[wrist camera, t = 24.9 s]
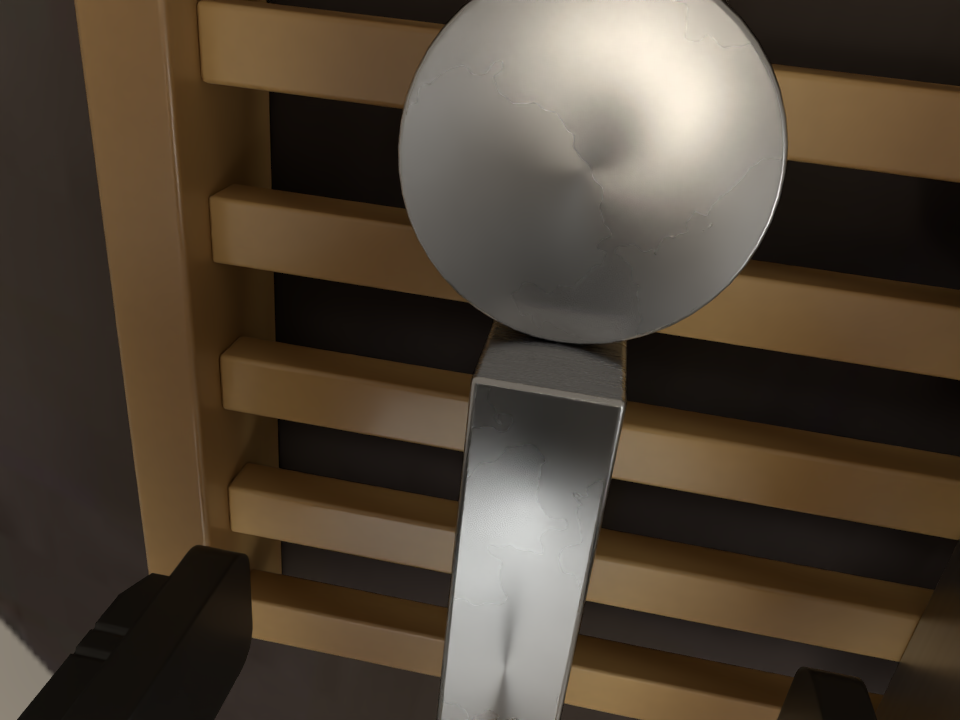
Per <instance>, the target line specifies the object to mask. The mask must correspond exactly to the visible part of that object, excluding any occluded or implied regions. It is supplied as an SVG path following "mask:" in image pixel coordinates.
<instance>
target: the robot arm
mask: <svg viewBox="0 0 960 720" xmlns="http://www.w3.org/2000/svg"><path fill="white" fill-rule="evenodd" d="M252 631H253V621H252V601H251V581H250V563H249V558H248V556H247V555H246V554H244V553H239V552H234V551H229V550H224V549H219V548H214V547H209V546H204V545H195V546H193V547H192V548H191V549H190V550H189V551H188V552H187V553H186V555H185V556H184V557H183V559H182V560H181V561H180V563H179V564H178V565H177V567H176V568H175V569H174V571H173V572H172V573H171V575H170V576H166V575H161V574H156V573H151V574H149V575H148V576H146V577H145V578H143V579H142V580H140V581H139V582H137V583H136V584H134V585H133V586H131V587H130V588H128V589H127V590H125V591H124V592H122V593H121V594H119V595H118V596H117V598H116V599H115V600H114V601H113V603H112V604H111V605H110V606H109V607H108V609H107V610H106V611H105V612H104V614H103V615H102V616H101V617H100V619H99V620H98V621H97V622H96V623H95V628H94V629H93V630H92V629H91V630H90V631H89V632H88V633H87V634H86V636H85V637H84V638H83V639H82V641H81V642H80V643H79V644H78V646H77V647H76V651H75V653H74V654H70V655H69V657H68V658H67V659H66V660H65V661H64V663H63V664H62V665H61V666H60V668H59V669H58V670H57V671H56V672H55V674H54V675H53V676H52V677H51V679H50V680H49V681H48V682H47V684H46V685H45V686H44V687H43V688H42V690H41V691H40V692H39V693H38V695H37V696H36V697H35V698H34V700H33V701H32V702H31V703H30V704H29V706H28V707H27V708H26V709H25V711H24V712H23V713H22V714H21V715H20V717H19V718H18V719H17V720H214V719H215V717H216V715H217V713H218V712H219V710H220V708H221V706H222V704H223V703H224V701H225V699H226V697H227V695H228V694H229V692H230V690H231V688H232V686H233V684H234V683H235V681H236V679H237V677H238V675H239V674H240V672H241V670H242V668H243V665H244V663H245V661H246V658H247V655H248V652H249V648H250V644H251V639H252ZM777 720H877V717H876V714H875V711H874V708H873V705H872V702H871V699H870V696H869V693H868V691H867V688H866V686H865V684H864V682H863V681H862V680H861V679H860V678H858V677H854V676H849V675H844V674H839V673H834V672H829V671H823V670H818V669H813V668H808V667H800V668H799V669H798V671H797V672H796V674H795V676H794V679H793V681H792V684H791V686H790V689H789V691H788V694H787V696H786V699H785V701H784V704H783V706H782V708H781V711H780V713H779V716H778V718H777Z"/></svg>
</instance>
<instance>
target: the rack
mask: <svg viewBox="0 0 960 720" xmlns="http://www.w3.org/2000/svg"><path fill="white" fill-rule="evenodd" d="M74 3H75V10H76V18H77V26H78V33H79V41H80V49H81V57H82V64H83V72H84V80H85V87H86V95H87V103H88V110H89V118H90V126H91V133H92V141H93V149H94V156H95V164H96V172H97V180H98V187H99V195H100V203H101V210H102V218H103V226H104V233H105V241H106V249H107V256H108V264H109V272H110V279H111V287H112V295H113V302H114V310H115V318H116V326H117V333H118V341H119V349H120V356H121V364H122V372H123V379H124V387H125V395H126V402H127V410H128V418H129V425H130V433H131V441H132V449H133V456H134V464H135V472H136V479H137V487H138V495H139V502H140V510H141V518H142V525H143V533H144V541H145V548H146V556H147V564H148V571H149V574H151V573H156V574H161V575H166V576H170V575H171V573H172V572H173V571H174V569H175V568H176V567H177V565H178V564H179V563H180V561H181V560H182V559H183V557H184V556H185V555H186V553H187V552H188V551H189V550H190V549H191V548H192V547H193V546H195V545H204V546H209V547H214V548H219V549H224V550H229V551H234V552H239V553H244V554H246V555H247V556H248V558H249V563H250V581H251V601H252V621H253V631H252V638H256V639H261V640H266V641H270V642H275V643H280V644H285V645H289V646H294V647H299V648H304V649H308V650H313V651H318V652H323V653H327V654H332V655H337V656H342V657H346V658H351V659H356V660H361V661H365V662H370V663H375V664H380V665H384V666H389V667H394V668H399V669H403V670H408V671H413V672H418V673H422V674H427V675H432V676H437V677H441V669H442V659H443V649H444V639H445V630H446V620H447V610H448V608H446V607H441V606H436V605H431V604H426V603H421V602H416V601H411V600H406V599H401V598H396V597H391V596H386V595H381V594H377V593H372V592H367V591H362V590H357V589H352V588H347V587H342V586H337V585H332V584H327V583H322V582H317V581H312V580H307V579H302V578H297V577H292V576H287V575H282V567H281V541H285V542H290V543H295V544H300V545H305V546H311V547H316V548H321V549H326V550H331V551H336V552H341V553H346V554H351V555H356V556H362V557H367V558H372V559H377V560H382V561H387V562H392V563H397V564H402V565H407V566H413V567H418V568H423V569H428V570H433V571H438V572H443V573H448V574H451V571H452V561H453V551H454V541H455V531H456V522H457V512H458V502H459V501H454V500H448V499H443V498H437V497H432V496H427V495H421V494H416V493H411V492H405V491H400V490H394V489H389V488H384V487H378V486H373V485H368V484H362V483H357V482H351V481H346V480H341V479H335V478H330V477H324V476H319V475H314V474H308V473H303V472H298V471H292V470H287V469H281V468H279V453H278V419H283V420H289V421H294V422H300V423H305V424H311V425H317V426H322V427H328V428H333V429H339V430H345V431H350V432H356V433H361V434H367V435H373V436H378V437H384V438H389V439H395V440H401V441H406V442H412V443H417V444H423V445H429V446H434V447H440V448H445V449H451V450H456V451H462V452H464V443H465V433H466V423H467V414H468V404H469V394H470V384H471V378H472V376H473V375H471V374H466V373H460V372H454V371H448V370H442V369H436V368H430V367H424V366H418V365H412V364H406V363H400V362H394V361H388V360H382V359H376V358H370V357H364V356H358V355H352V354H347V353H341V352H335V351H329V350H323V349H317V348H311V347H305V346H299V345H293V344H287V343H281V342H276V340H275V303H274V272H279V273H286V274H292V275H298V276H304V277H311V278H317V279H323V280H330V281H336V282H342V283H349V284H355V285H361V286H368V287H374V288H380V289H387V290H393V291H399V292H406V293H412V294H418V295H425V296H431V297H437V298H444V299H450V300H456V301H463V302H467V301H466V300H465V299H464V298H463V297H461V296H460V295H459V294H458V293H457V292H456V291H455V290H454V289H453V288H452V287H451V286H450V285H449V284H448V283H447V282H446V280H445V279H444V278H443V277H442V276H441V275H440V273H439V272H438V271H437V269H436V268H435V267H434V265H433V264H432V263H431V261H430V260H429V259H428V257H427V255H426V253H425V252H424V250H423V248H422V246H421V244H420V243H419V241H418V239H417V237H416V235H415V232H414V230H413V228H412V225H411V223H410V220H409V218H408V215H407V211H406V209H403V208H396V207H389V206H383V205H376V204H369V203H362V202H355V201H349V200H342V199H335V198H328V197H321V196H314V195H308V194H301V193H294V192H287V191H280V190H273V189H271V152H270V114H269V91H270V92H278V93H285V94H293V95H300V96H308V97H315V98H323V99H331V100H338V101H346V102H353V103H361V104H368V105H376V106H383V107H391V108H398V109H403V107H404V103H405V99H406V95H407V92H408V89H409V87H410V84H411V82H412V79H413V76H414V74H415V71H416V69H417V67H418V65H419V64H420V62H421V60H422V58H423V56H424V54H425V52H426V51H427V49H428V47H429V46H430V44H431V43H432V42H433V40H434V39H435V37H436V36H437V35H438V33H439V32H440V30H441V29H442V28H443V26H444V25H445V24H438V23H429V22H421V21H413V20H404V19H396V18H388V17H379V16H371V15H363V14H354V13H346V12H338V11H329V10H321V9H313V8H304V7H296V6H288V5H279V4H271V3H267V1H266V0H74ZM772 67H773V70H774V72H775V75H776V78H777V81H778V83H779V86H780V89H781V93H782V97H783V102H784V107H785V112H786V116H787V130H788V157H787V160H790V161H798V162H805V163H813V164H820V165H828V166H835V167H843V168H850V169H858V170H866V171H873V172H881V173H888V174H896V175H903V176H911V177H918V178H926V179H933V180H941V181H948V182H956V183H960V86H953V85H945V84H937V83H928V82H920V81H912V80H903V79H895V78H887V77H878V76H870V75H862V74H853V73H845V72H837V71H828V70H820V69H812V68H804V67H795V66H787V65H779V64H772ZM657 332H659V333H665V334H671V335H678V336H684V337H690V338H697V339H703V340H709V341H715V342H722V343H728V344H734V345H741V346H747V347H753V348H760V349H766V350H772V351H779V352H785V353H791V354H798V355H804V356H810V357H817V358H823V359H829V360H836V361H842V362H848V363H855V364H861V365H867V366H874V367H880V368H886V369H893V370H899V371H905V372H911V373H918V374H924V375H930V376H937V377H943V378H949V379H956V380H960V290H956V289H949V288H942V287H935V286H929V285H922V284H915V283H908V282H901V281H895V280H888V279H881V278H874V277H867V276H860V275H854V274H847V273H840V272H833V271H826V270H819V269H813V268H806V267H799V266H792V265H785V264H779V263H772V262H765V261H758V260H750V261H749V263H748V264H747V266H746V267H745V268H744V269H743V270H742V271H741V273H740V274H739V275H738V276H737V277H736V278H735V279H734V281H733V282H732V283H731V284H730V285H729V286H728V287H727V288H726V289H724V290H723V291H722V292H721V293H720V294H719V295H718V296H717V297H716V298H714V299H713V300H712V301H711V302H709V303H708V304H707V305H705V306H704V307H702V308H701V309H699V310H698V311H697V312H695V313H694V314H692V315H691V316H689V317H687V318H685V319H683V320H681V321H679V322H677V323H676V324H674V325H672V326H670V327H667V328H665V329H662V330H660V331H657ZM612 478H613V479H619V480H624V481H630V482H635V483H641V484H647V485H652V486H658V487H663V488H669V489H675V490H680V491H686V492H691V493H697V494H702V495H708V496H714V497H719V498H725V499H730V500H736V501H742V502H747V503H753V504H758V505H764V506H770V507H775V508H781V509H786V510H792V511H798V512H803V513H809V514H814V515H820V516H825V517H831V518H837V519H842V520H848V521H853V522H859V523H865V524H870V525H876V526H881V527H887V528H893V529H898V530H904V531H909V532H915V533H921V534H926V535H932V536H937V537H943V538H948V539H954V540H959V539H960V456H954V455H948V454H942V453H936V452H930V451H924V450H918V449H912V448H906V447H900V446H894V445H888V444H882V443H876V442H870V441H864V440H858V439H852V438H846V437H841V436H835V435H829V434H823V433H817V432H811V431H805V430H799V429H793V428H787V427H781V426H775V425H769V424H763V423H757V422H751V421H745V420H739V419H733V418H727V417H721V416H716V415H710V414H704V413H698V412H692V411H686V410H680V409H674V408H668V407H662V406H656V405H650V404H644V403H638V402H632V401H627V407H626V412H625V417H624V421H623V426H622V431H621V436H620V440H619V445H618V450H617V455H616V459H615V464H614V469H613V474H612ZM933 592H934V590H933V589H927V588H922V587H916V586H911V585H906V584H900V583H895V582H889V581H884V580H879V579H873V578H868V577H863V576H857V575H852V574H846V573H841V572H836V571H830V570H825V569H820V568H814V567H809V566H803V565H798V564H793V563H787V562H782V561H776V560H771V559H766V558H760V557H755V556H750V555H744V554H739V553H733V552H728V551H723V550H717V549H712V548H707V547H701V546H696V545H690V544H685V543H680V542H674V541H669V540H663V539H658V538H653V537H647V536H642V535H637V534H631V533H626V532H620V531H615V530H610V529H604V528H601V530H600V535H599V540H598V545H597V549H596V554H595V559H594V564H593V568H592V573H591V578H590V583H589V587H588V592H587V597H586V601H591V602H596V603H601V604H606V605H611V606H617V607H622V608H627V609H632V610H637V611H642V612H647V613H652V614H657V615H662V616H668V617H673V618H678V619H683V620H688V621H693V622H698V623H703V624H708V625H713V626H719V627H724V628H729V629H734V630H739V631H744V632H749V633H754V634H759V635H764V636H770V637H775V638H780V639H785V640H790V641H795V642H800V643H805V644H810V645H815V646H821V647H826V648H831V649H836V650H841V651H846V652H851V653H856V654H861V655H866V656H872V657H877V658H882V659H887V660H892V661H897V662H900V661H901V659H902V656H903V654H904V652H905V650H906V648H907V646H908V644H909V642H910V640H911V638H912V636H913V634H914V632H915V630H916V628H917V625H918V623H919V621H920V619H921V617H922V615H923V613H924V611H925V609H926V607H927V605H928V603H929V601H930V599H931V597H932V594H933ZM793 679H794V677H790V676H785V675H780V674H775V673H770V672H765V671H760V670H755V669H750V668H745V667H740V666H735V665H730V664H725V663H720V662H715V661H710V660H705V659H700V658H695V657H690V656H685V655H680V654H675V653H670V652H665V651H660V650H655V649H650V648H645V647H640V646H635V645H630V644H625V643H621V642H616V641H611V640H606V639H601V638H596V637H591V636H586V635H581V634H579V635H578V639H577V644H576V649H575V654H574V658H573V663H572V668H571V673H570V677H569V682H568V687H567V692H566V696H565V701H564V703H565V704H570V705H574V706H579V707H584V708H589V709H593V710H598V711H603V712H608V713H612V714H617V715H622V716H627V717H631V718H636V719H641V720H777V718H778V716H779V713H780V711H781V708H782V706H783V704H784V701H785V699H786V696H787V694H788V691H789V689H790V686H791V684H792V681H793ZM868 693H869V692H868ZM869 696H870V699H871V702H872V705H873V708H874V711H875V712H876V710H877V708H878V706H879V704H880V702H881V700H882V698H883V696H884V695H879V694H874V693H869Z"/></svg>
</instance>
